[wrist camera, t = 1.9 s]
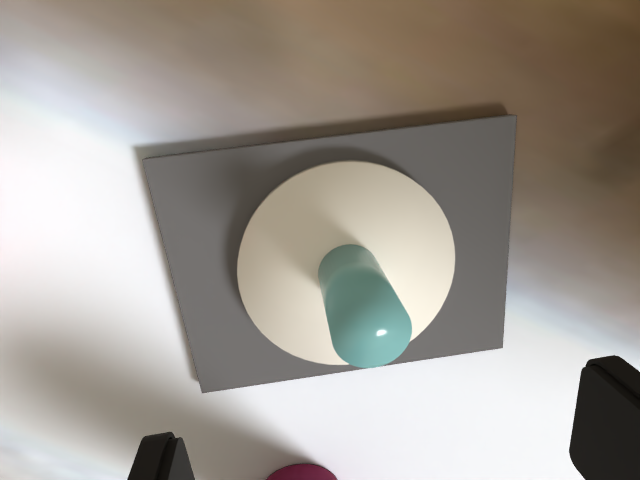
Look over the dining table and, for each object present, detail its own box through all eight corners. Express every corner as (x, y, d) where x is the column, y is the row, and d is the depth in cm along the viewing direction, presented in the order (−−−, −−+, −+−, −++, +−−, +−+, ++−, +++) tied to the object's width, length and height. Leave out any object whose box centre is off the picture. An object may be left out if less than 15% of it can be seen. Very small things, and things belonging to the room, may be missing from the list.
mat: (509, 114, 18) (516, 115, 18) (497, 341, 22) (502, 348, 22) (146, 157, 17) (142, 159, 17) (204, 385, 22) (202, 393, 21)
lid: (449, 146, 18) (522, 170, 12) (448, 339, 21) (505, 424, 16) (219, 174, 17) (193, 212, 12) (257, 368, 21) (249, 465, 15)
